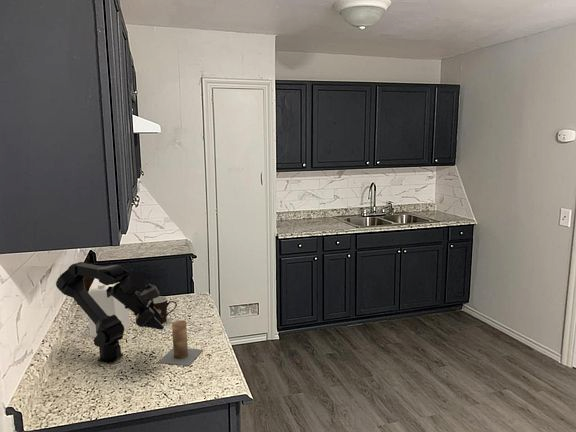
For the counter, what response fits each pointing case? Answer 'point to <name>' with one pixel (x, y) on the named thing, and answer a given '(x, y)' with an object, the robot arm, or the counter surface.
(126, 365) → the counter surface
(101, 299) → the milk
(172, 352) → the mat
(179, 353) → the pepper mill
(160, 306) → the coffee mug
